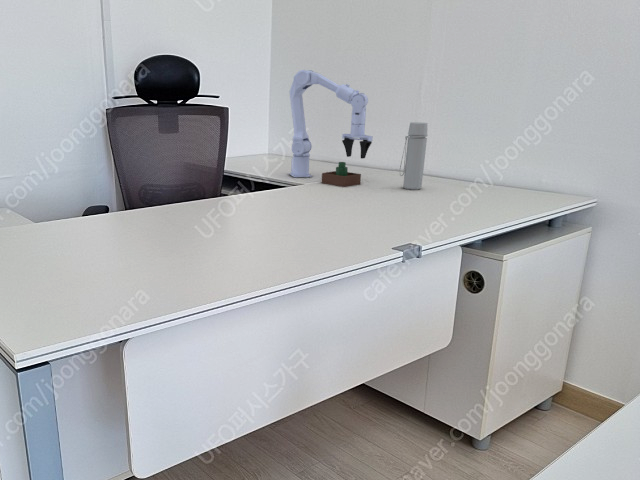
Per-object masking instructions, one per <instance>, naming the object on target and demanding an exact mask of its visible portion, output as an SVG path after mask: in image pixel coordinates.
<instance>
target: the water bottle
mask: <svg viewBox="0 0 640 480" xmlns="http://www.w3.org/2000/svg"><path fill="white" fill-rule="evenodd" d="M428 124H429V123H428V122H421V121H420V122H419V121H418V122H417V121H415V122H413V121H412V122H409V127H408V130H407V131H408V132H407V135H405V143H404V147H403V152H402V155H401V161H400V165H399V170H401V168H402V163H403V173H402V174H401V173H399V176H400V177H403V184H402V187H403V189H405V190H411V191H416V190H417V191H418V190H420V189H422V185H423V179H424V168H425V161H426V160H425V159H426V153H427V152H426V149H427V143H428ZM404 157H405V160H404V162H403V159H404Z"/></svg>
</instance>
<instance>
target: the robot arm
mask: <svg viewBox="0 0 640 480" xmlns="http://www.w3.org/2000/svg"><path fill="white" fill-rule="evenodd" d="M313 85H319V86H321V87H324V88H325V89H327V90H330V91H331V92H333V93H335V96H336V97H337V98H338V99H340V100H341V101H343V102H345V103H347V104H349V105H350V106H351V107H352V109H351V119H350V133H342V137H341V138H342V140H341V143H342V145H343V146H344V149H345V155H346V157H347V158H351V157H352V153H353V145H354V142H355V140H357V141H359V146H360V147H359V148H360V159H363V160H364V159H366V156H367V153H368V150H369V148H370V147H371V145H372V144H373V135H367V134H365V131H366V117H367V105H368V103H369V98H368V96H367V95H366V94H365V93H364V92H360V90H359V89H354V88H353V87H350V84H348V83H346V84H344V83H342V84H338V83H336V82H335V81H333V80H331V78H328V77H326V76H325V75H323V74H321V73H319V72H316V71H313V70H312V69H300V70H298V71H297V72H296V73H295V75H294V76H293V80H292V84H291V86H290V88H289V100H290V107H291V109H290V110H291V118H292V124H293V136H292V137H293V138H292V145H291V152H292V154H293V155H292V158H291V160H290V161H291V166H290V167H291V168H290V172H289V173H288V175H290V176H292V177H293V178H312V175H311V174H310V157H311V156H310V152H311V150H312V147H313V146H312V143H311V141H310V137H309V134H308V132H307V126H306V118H305V110H304V109H305V108H304V98H303V94H304V93H305V92H306V90H308V89H309V88H310V87H312V86H313Z"/></svg>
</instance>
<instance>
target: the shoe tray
mask: <svg viewBox="0 0 640 480" xmlns="http://www.w3.org/2000/svg"><path fill="white" fill-rule="evenodd" d="M361 177H362V174H361V173H357V172H350V171H347V176H340V175H336V170H334V171H327V172H322V173H321V184H325V185H332V186H338V187H343V188H345V187H351V186H356V185H357V186H358V185H361Z"/></svg>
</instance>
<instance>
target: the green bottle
mask: <svg viewBox="0 0 640 480" xmlns="http://www.w3.org/2000/svg"><path fill="white" fill-rule="evenodd" d="M348 170H349V169H348V167H347V166H346V162H345V161H338V166H336V167H335V171H336V175H340V176H347V172H348Z"/></svg>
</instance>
